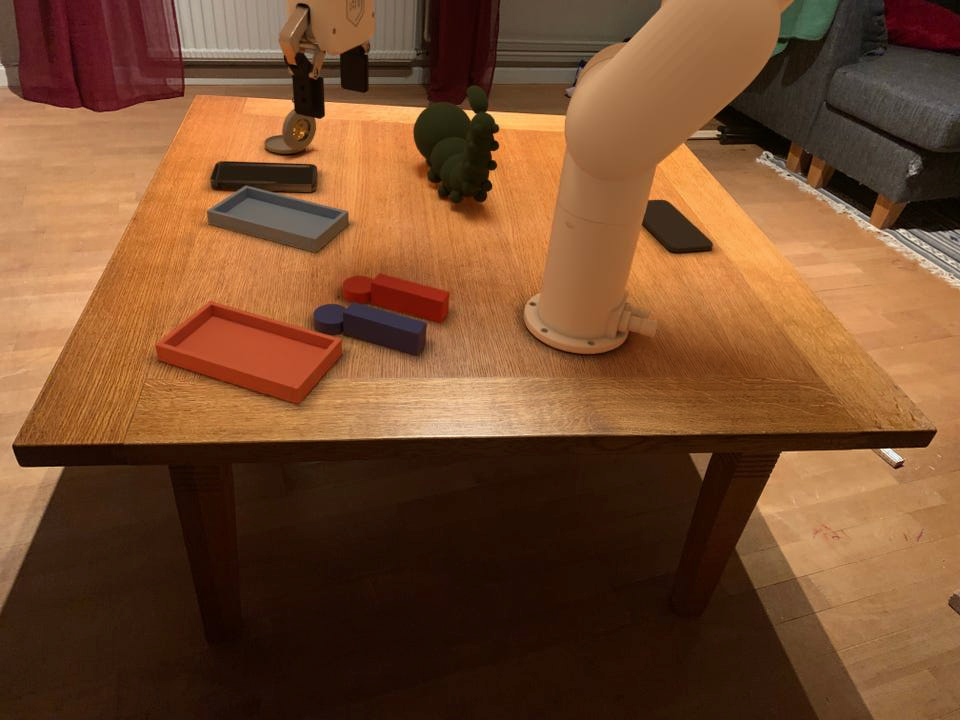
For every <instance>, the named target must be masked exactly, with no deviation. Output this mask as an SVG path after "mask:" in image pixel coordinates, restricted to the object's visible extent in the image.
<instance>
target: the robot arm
mask: <svg viewBox="0 0 960 720" xmlns="http://www.w3.org/2000/svg"><path fill="white" fill-rule="evenodd" d="M794 2H795V0H661V4H660V8H659V9H658V10H657V11H656V12H655V14H653V15H652V16H651V17H650V19H649V20H648V21H646V23H645V24H644V25H643V26H642V27H641V28H640V29H639V31H637V32H636V33H635V34H634V35H633V36H632V37H631V39H630V40H629V41H627V42H618V43H614V44H612V45H608V46H607V47H604V48H603V49H601V50H600V51H598V52H597V53H595V54H594V55H593V56H592V57H591V58H590V59H589V61H588V62H586V64H585V66H584V67H583V69H582V70H581V71H580V74H579V75H578V78H577V80H576V83H575V86H574V88H573V91H572V94H571V98H570V100H569V104H568V105H567V109H566V114H565V117H564V118H565V119H564V140H565V144H566V145H565V150H564V155H563V161H562V167H561V171H560V172H561V173H560V176H559V177H560V178H559V184H558V189H557V194H556V195H557V196H556V199H555V205H554V211H553V219H552V223H551V229H550V234H549V239H548V240H549V241H548V247H547V251H546V259H545V265H544V268H543V269H544V270H543V276H542V281H541V288H540V291H539V292H538V293H536V294H534V295H533V296H531V297H530V298H529V299H528V300H527V301H526V304H525V306H524V308H523V309H524V310H523V322H524V324H525V327H526V328H527V330H528V331H529V332H530V333H531V334H532V335H533V336H534V337H535V338H536V339H537V340H540V341H541V342H542V343H543V344H545V345H548V346H550V347H552V348H554V349H557V350H560V351H564V352H568V353H573V354H581V355H595V354H602V353H606V352H609V351H610V352H611V351H613V350H615V349H617V348H619V347H620V346H621V345H622V344H624V343H625V341H626V340H627V338H628V335H629V332H633V333H637V334H639V335H642V336H646V337H649V338H655V335H656V330H657V327H658V325H659V321H658V320H655V319H654V320H653V319H650V318H649V317H650V314H651V310H650V309H647V308H644V307H643V308H642V307H637V306H634V305H632V303H630V302H628V296H629V293H630V291H629V290H626V289H627V286H628V281H629V277H630V273H631V269H632V265H633V262H634V257H635V253H636V249H637V246H638V241H639V238H640V235H641V229H642V226H643V223H642V222H643V218H644V215H645V212H646V208H647V204H648V200H650V195H651V191H652V187H653V184H654V183H653V182H654V178H655V175H656V170H657V166H658V165H659V164H660V163H662V162H663V161H664V160H665V159H666V158H667V157H669V156H670V155H671V154H672V153H675V151H676V150H677V149H678V148H679V147H680V146H682V145H683V144H684V143H685V142H687V140H689V139H690V138H691V137H692V136H693V135H695V134H696V133H697V132H698V131H699V130H700V129H701V128H703V127H704V126H705V125H706V124H708V122H710V121H711V120H712V119H713V118H714V117H715V116H716V115H717V114H719V113H720V112H721V111H722V110H723V109H724V108H725V107H727V106H728V105H729V104H730V103H731V102H732V101H734V100H735V99H736V98H737V97H738V96H739V95H740V94H741V93H743V91H744V90H746V88H748V87H749V85H750V84H751V83H752V82H753V81H754V80H755V79H757V76H758V75H759V74H760V73H761V71H762V70H763V69H764V68H765V66H766V64H767V63H768V62H769V60H770V59H771V57H772V55H773V52H774V51H775V48H776V46H777V43H778V39H779V36H780V32H781V31H780V30H781V19H782V18H781V15H782V13H783V12H784V11H786V9H787V8H789V6H790V5H792V3H794ZM375 13H376V11H375V0H286V19H287V22H285V25H284V26H283V27H282V29H281V31H280V32H279V33H278V38H277V40H278V43H279V46H280V49H281V51H282V54H283V62H284V64H286V66H287V69H288V74H289V75H290V76H291V78H292V79H291V80H292V95H293V96H294V99H293V101H294V103H293V106H294V107H293V109H294V110H295V112H296V113H297V114H299V115H304V116H308V117H313V118H315V119H318V120H321V119H323V118H324V117H325V116H326V105H325V102H326V101H325V82H324V77H323V76H320V74H321V70H322V67H323V64H324V60H325V58H326V54H328V55H329V56H332V57H335V56H339V73H340V74H339V75H340V86H341V88H342V89H343V90H348V91H352V92H357V93H362V94H365V93H367V92H368V91H369V89H370V83H369V81H370V76H369V72H370V71H369V70H370V68H369V62H370V61H369V59H370V57H369V54H370V51H371V42H370V40H371V38H372V37H373V36H374V34H375V29H376V18H375V17H376V15H375ZM306 54H310V55H312V58H311V61H310V60H309V58H308V57H307V56H306ZM293 96H292V97H293Z"/></svg>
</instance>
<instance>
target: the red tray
mask: <svg viewBox="0 0 960 720" xmlns="http://www.w3.org/2000/svg"><path fill="white" fill-rule="evenodd" d="M154 347H155V352H156V358H157V361H159V362H163V363H166V364H168V365H172V366H176V367H179V368H182V369H185V370H188V371H190V372H194V373H198V374H201V375H203V376H207V377H210V378H214V379H217V380H220V381H223V382H226V383H229V384H233V385H236V386H239V387H241V388H245V389H248V390H251V391H255V392H258V393H261V394H265V395H267V396H271V397H273V398H277V399H280V400H284V401H286V402H289V403H293V404H296V405H300V404H301V402H302V401H303V400H304V399H305V398H306V396H307V395H308V394H309V393H310V392H311V391H312V390H313V389H314V387H315V386H316V385H317V384H318V383H319V382H320V381H321V379H322V378H323V377H324V376H325V375H326V373H328V371H329V370H330V369H331V367H332V366H333V365H334V364H335V363H336V362H337V361H338V359H339V358H340V357H341V356H342V355H343V339H342V338H340V337H336V336H333V335H330V334H324V333H321V332H319V331H317V330H316V331H315V330H311V329H308V328H305V327H302V326H298V325H295V324H291V323H288V322H284V321H281V320H279V319H278V320H277V319H275V318H272V317H268V316H264V315H262V314H261V315H260V314H258V313H253V312H250V311H247V310H243V309H240V308H237V307H234V306H230V305H226V304H223V303H219V302H216V301H213V300H208V302H206V303H205V304H204V305H202V306H201V307H200V308H198V310H196V311H195V312H194V313H192V314H191V315H190V316H189V317H188V318H186V319H185V320H184V321H183V322H181V323H180V324H179V325H178V326H176V327H175V328H174V329H173V330H171V331H170V332H169V333H168V334H166V335H165V336H164V337H163V338H161V339H160V340H159V341H157V342H156V343H155V344H154Z"/></svg>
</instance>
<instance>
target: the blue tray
mask: <svg viewBox="0 0 960 720" xmlns="http://www.w3.org/2000/svg"><path fill="white" fill-rule="evenodd" d="M206 216H207V217H206V218H207V223H208V225H211V226H213V227H217V228H220V229H221V228H222V229H225V230H229V231H233V232H236V233H240V234H243V235H244V234H245V235H248V236H252V237H256V238H258V239H263V240H266V241H271V242H274V243H278V244H281V245H285V246H289V247H292V248H296V249H301V250H304V251H308V252H311V253H315V254H316V253H318V252H319V251H320V250H321V249H322V248H324V247H325V246H326V245H327V244H328V243H329V242H330V241H331V240H333V239H334V238H335V237H336V236H337V235H338V234H339V233H341V232H342V231H343V230H344V229H345V228H346V227H348V225H350V223H349V220H350V219H349V210H344V209H341V208H337V207H332V206H328V205H325V204H321V203H316V202H313V201H309V200H305V199H301V198H297V197H292V196H289V195H285V194H282V193H281V194H280V193H277V192H274V191H266V190H262V189H258V188H254V187H249V186H244V187H243V188H241V189H240V190H236V191H235V192H233V193H232V194H230V195H229V196H227V197H225V198H224V199H223V200H221V201H219V202H218V203H216V204H215V205H213V206H211V207H210V208H208V209H207V210H206Z"/></svg>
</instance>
